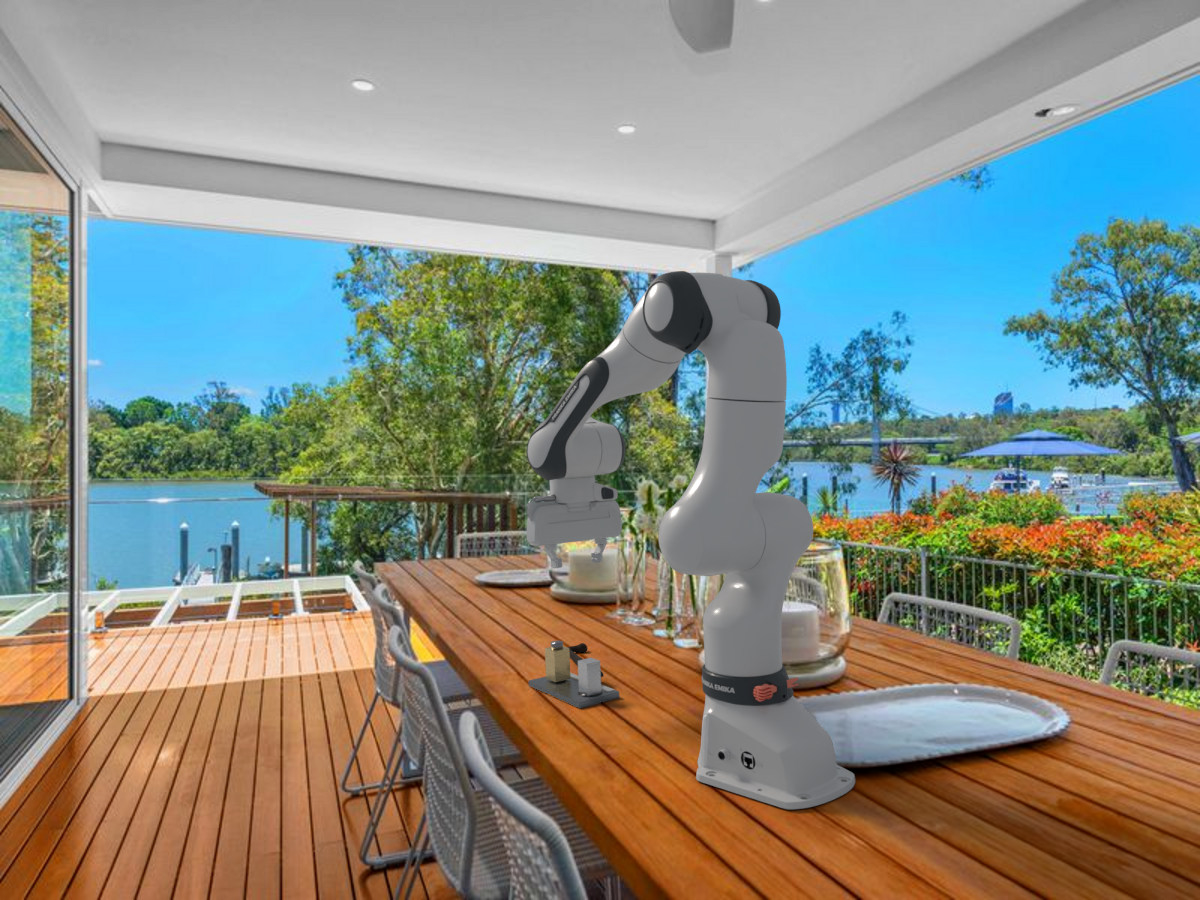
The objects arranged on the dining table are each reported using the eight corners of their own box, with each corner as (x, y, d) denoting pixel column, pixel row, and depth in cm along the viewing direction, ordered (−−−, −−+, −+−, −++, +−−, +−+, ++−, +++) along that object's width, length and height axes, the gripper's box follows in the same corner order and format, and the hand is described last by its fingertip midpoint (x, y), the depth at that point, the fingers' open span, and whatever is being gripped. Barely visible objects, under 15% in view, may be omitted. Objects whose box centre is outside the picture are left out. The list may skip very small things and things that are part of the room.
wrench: (587, 659, 183) (618, 686, 153) (566, 662, 181) (592, 691, 152) (585, 636, 183) (615, 659, 154) (563, 640, 182) (589, 664, 153)
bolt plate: (619, 697, 147) (617, 659, 147) (579, 708, 142) (577, 668, 142) (566, 677, 162) (565, 642, 162) (528, 686, 156) (527, 650, 156)
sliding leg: (570, 678, 155) (569, 642, 155) (555, 682, 153) (553, 645, 153) (561, 674, 158) (559, 639, 158) (546, 678, 156) (544, 642, 156)
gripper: (535, 496, 144) (539, 572, 144) (624, 489, 156) (628, 559, 156) (518, 497, 149) (522, 570, 149) (605, 490, 161) (609, 558, 161)
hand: (577, 564), depth 152 cm, fingers open, 8 cm apart
